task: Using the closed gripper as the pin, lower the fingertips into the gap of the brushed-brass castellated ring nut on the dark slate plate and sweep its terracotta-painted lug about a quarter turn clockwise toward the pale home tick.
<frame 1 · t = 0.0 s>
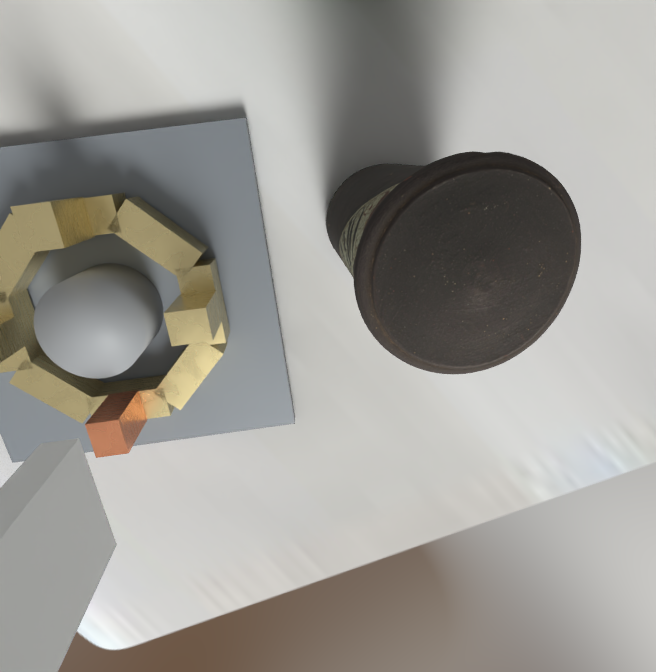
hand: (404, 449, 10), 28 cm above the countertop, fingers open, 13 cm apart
container: (382, 218, 36), on the countertop
slate plate: (120, 305, 37), on the countertop
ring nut: (97, 324, 32), point 5 cm above the countertop, hinge at 0.0°
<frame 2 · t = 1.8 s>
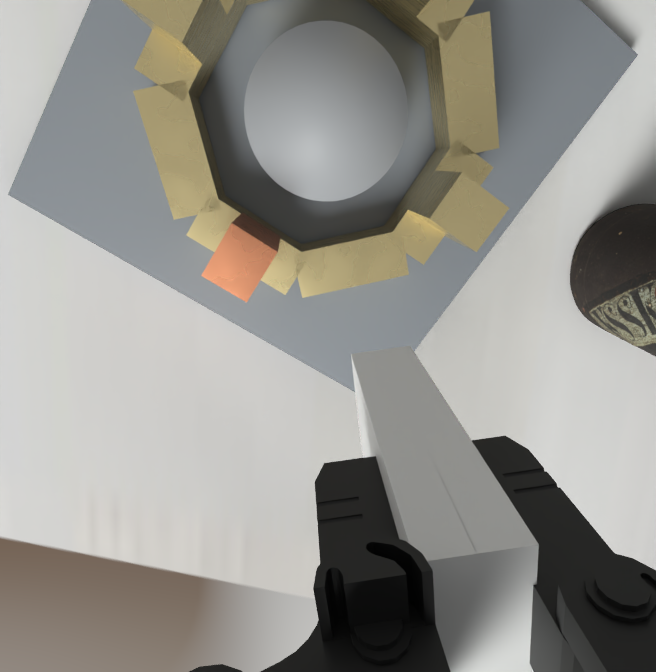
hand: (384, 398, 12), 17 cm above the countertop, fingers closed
container: (630, 268, 30), on the countertop
slate plate: (319, 126, 26), on the countertop
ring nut: (325, 118, 21), point 5 cm above the countertop, hinge at 0.0°
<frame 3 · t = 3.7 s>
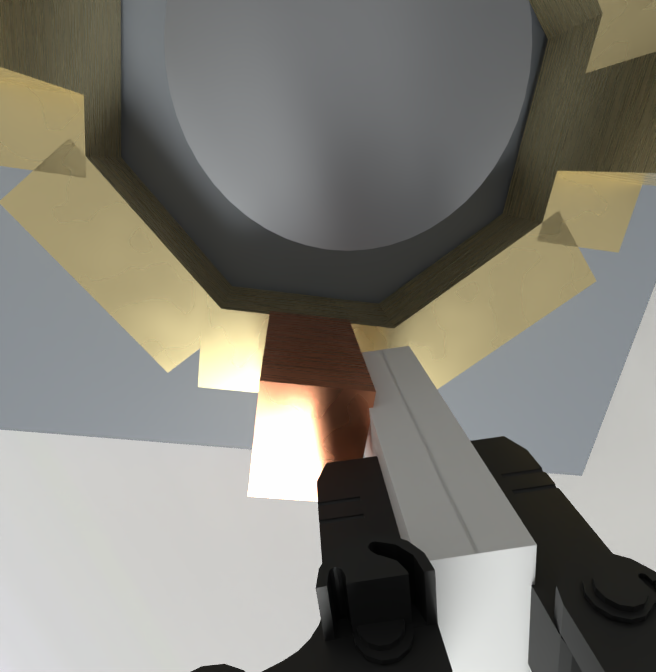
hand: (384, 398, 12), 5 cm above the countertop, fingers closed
slate plate: (329, 104, 15), on the countertop
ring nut: (345, 78, 10), point 5 cm above the countertop, hinge at 0.0°, touching gripper
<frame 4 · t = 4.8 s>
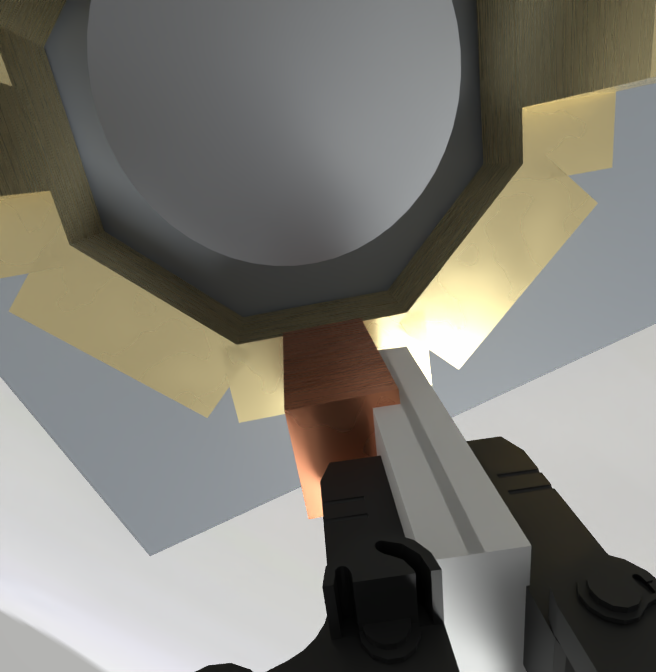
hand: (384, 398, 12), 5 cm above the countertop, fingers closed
slate plate: (280, 114, 15), on the countertop
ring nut: (281, 92, 10), point 5 cm above the countertop, hinge at 16.0°, touching gripper
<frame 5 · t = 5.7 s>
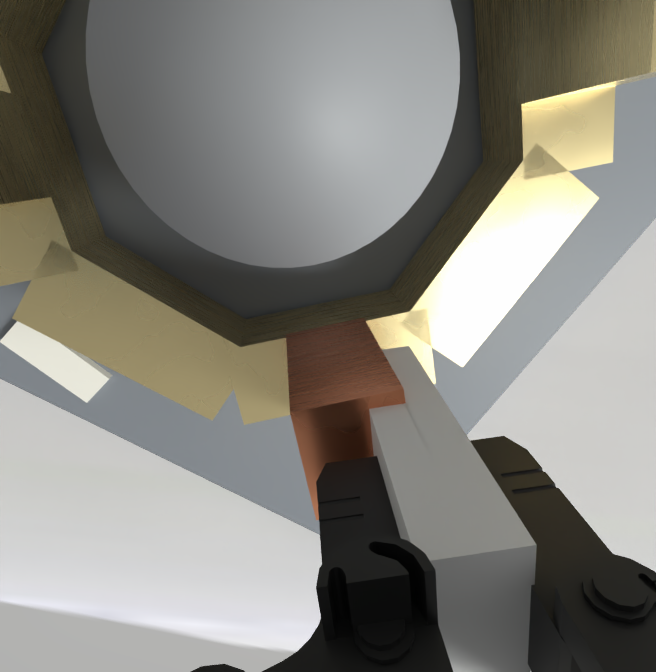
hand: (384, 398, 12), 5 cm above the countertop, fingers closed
slate plate: (279, 115, 15), on the countertop
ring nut: (280, 94, 10), point 5 cm above the countertop, hinge at 44.2°, touching gripper
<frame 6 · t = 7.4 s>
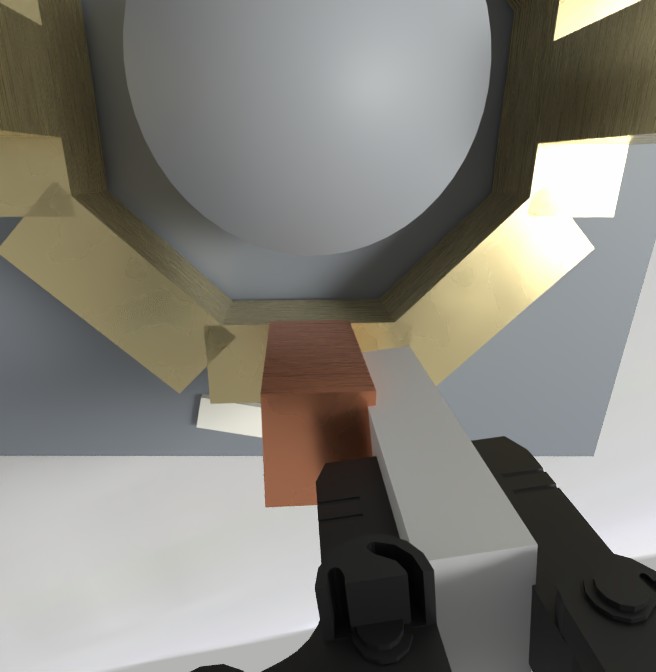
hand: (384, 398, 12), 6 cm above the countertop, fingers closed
slate plate: (303, 108, 15), on the countertop
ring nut: (310, 83, 10), point 5 cm above the countertop, hinge at 87.4°, touching gripper
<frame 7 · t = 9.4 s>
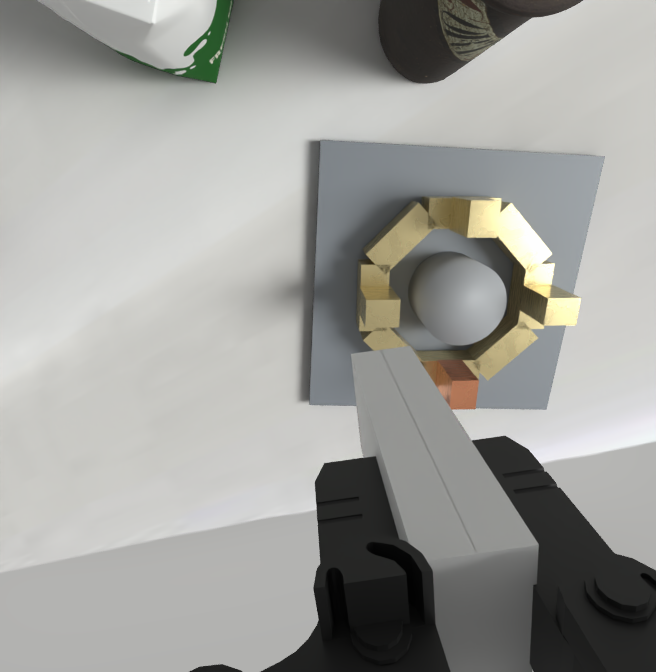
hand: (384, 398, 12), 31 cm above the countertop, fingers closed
container: (427, 22, 37), on the countertop
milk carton: (180, 18, 36), on the countertop
slate plate: (443, 287, 44), on the countertop
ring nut: (459, 300, 39), point 5 cm above the countertop, hinge at 87.4°
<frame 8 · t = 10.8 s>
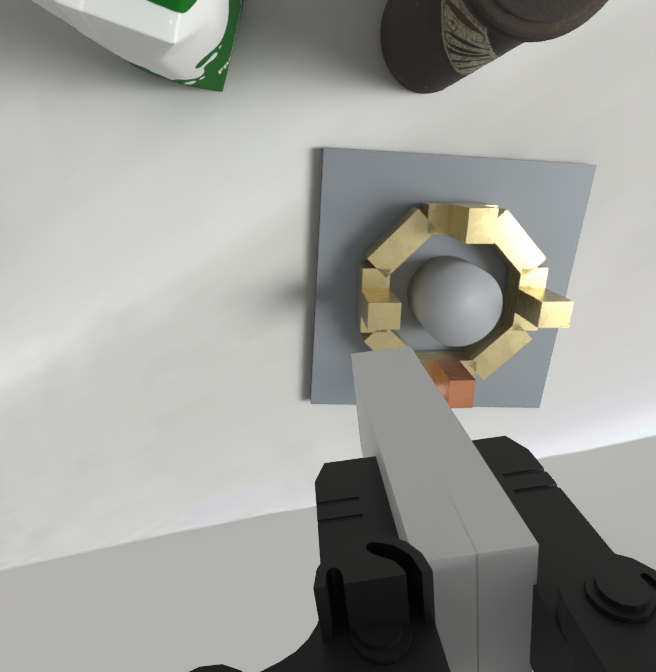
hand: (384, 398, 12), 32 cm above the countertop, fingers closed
container: (427, 34, 38), on the countertop
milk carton: (187, 28, 37), on the countertop
slate plate: (440, 289, 45), on the countertop
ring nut: (456, 303, 41), point 5 cm above the countertop, hinge at 87.4°
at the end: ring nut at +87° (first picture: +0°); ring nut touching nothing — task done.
